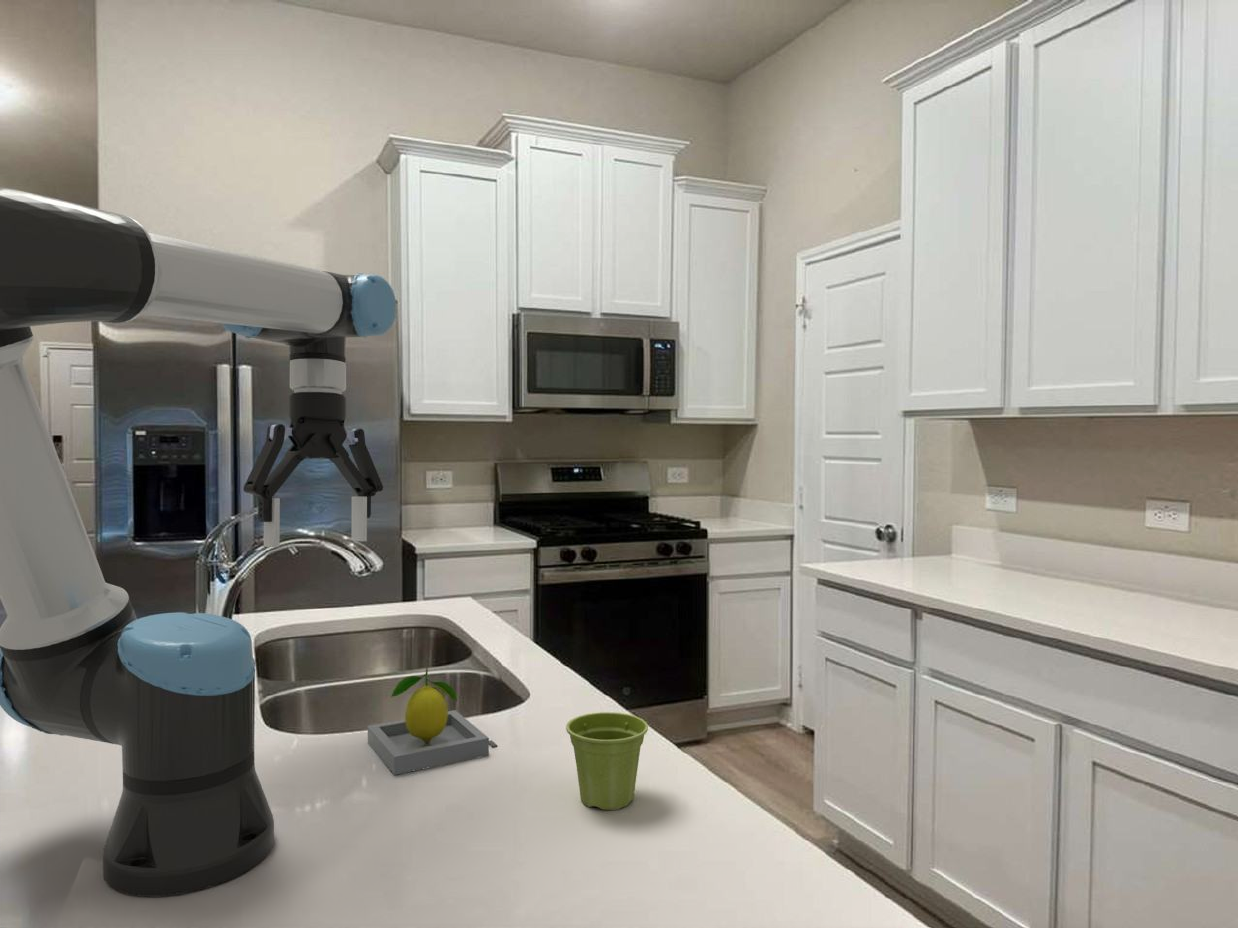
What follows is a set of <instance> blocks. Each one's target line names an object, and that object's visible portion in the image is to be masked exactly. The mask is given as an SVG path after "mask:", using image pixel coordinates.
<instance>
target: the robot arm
mask: <svg viewBox="0 0 1238 928" xmlns="http://www.w3.org/2000/svg"><path fill="white" fill-rule="evenodd" d="M389 283H390V282H388V280H386V279H385V278H384V277H382V276H380V275H379V274H375V273H374V274H372V273H371V274H363V273H360V272H359V273H356V274H352V275H351V274H349V275H348V274H340V273H336V272H330V271H324V270H320V269H317V268H311V267H306V266H302V265H297V264H293V263H289V262H283V261H280V260H276V259H271V258H266V257H262V256H256V255H252V254H248V253H245V252H238V251H235V250H229V249H226V248H219V247H216V246H211V245H206V244H203V243H197V242H194V241H193V242H192V241H188V240H183V239H180V238H175V237H170V236H166V235H161V234H156V233H152V232H148V231H147V230H146V228H145V227H144V226H143V225H142V224H141V223H140V222H138V221H137V220H136V219H134V218H133V217H130V216H127V215H124V214H120V213H115V212H110V211H106V210H101V209H99V208H95V207H92V206H87V205H83V204H78V203H74V202H70V201H66V200H63V199H58V198H54V197H52V196H45V195H42V194H36V193H34V192H33V193H32V192H29V191H25V190H24V191H23V190H20V189H14V188H7V187H0V601H1V603H2V606H3V608H4V610H5V613H6V617H5V619H4V622H3V623H2V625H1V626H0V707H1V709H3V711H4V712H5V714H7V716H9V717H10V718H12V719H13V720H15V721H16V722H17V723H19V724H21V725H24V726H27V727H29V728H31V729H34V730H37V731H39V732H42V733H44V734H48V735H58V736H65V737H73V738H79V739H83V740H90V741H95V742H101V743H106V744H110V745H117V746H121V757H122V758H121V759H122V760H121V762H122V793H121V795H120V799H119V802H118V804H117V807H116V811H115V814H114V815H113V816H114V817H113V819H112V823H111V825H110V829H109V830H108V831H109V832H108V834H107V837H106V841H105V844H104V847H103V851H102V878H103V881H104V882H105V883H106V885H107V886H108V887H109V888H111V889H113V890H114V891H117V892H119V893H122V894H126V895H131V896H138V897H139V896H140V897H141V896H142V897H162V896H163V897H164V896H165V897H166V896H173V895H178V894H179V895H181V894H185V893H190V892H195V891H199V890H203V889H206V888H210V887H213V886H216V885H219V884H222V883H225V882H227V881H229V880H232V879H233V878H236V877H238V876H240V875H242V874H244V873H246V872H247V871H249V870H251V869H253V868H254V867H256V866H257V865H258V864H260V863H261V861H263V860H264V859H265V858H267V856H268V855H269V853H270V852H271V851H272V849H273V847H274V843H275V822H274V819H275V818H274V814H273V812H272V809H271V806H270V805H269V802H268V800H267V797H266V794H265V792H264V789H263V787H262V784H261V782H260V779H259V776H258V773H257V772H256V766H255V724H256V723H255V713H256V712H255V703H256V699H255V698H256V696H255V695H256V694H255V691H256V689H255V688H256V685H255V684H256V683H255V682H256V677H255V674H256V661H255V658H254V655H253V641H252V640H253V639H252V637H251V634H250V632H249V631H248V629H247V628H246V627H245V626H244V625H243V624H241V623H239V622H238V621H236V620H235V619H231V618H230V617H229V618H228V617H225V616H222V615H217V614H212V613H206V612H205V613H204V612H196V613H187V612H177V611H176V612H167V613H166V612H165V613H159V614H157V613H156V614H152V615H147V616H144V617H140V618H137V615H136V613H135V610H134V607H133V604H132V602H131V599H130V596H129V593H128V592H127V591H126V590H125V589H124V588H122V587H121V586H117V585H114V584H111V583H107V582H106V581H105V578H104V575H103V572H102V570H101V567H100V564H99V561H98V560H97V557H96V554H95V551H94V548H93V546H92V543H91V540H90V537H89V536H88V533H87V530H86V527H85V524H84V521H83V518H82V517H81V513H80V511H79V509H78V508H79V507H78V506H77V503H76V501H75V498H74V495H73V492H72V490H71V488H70V487H71V486H70V484H69V481H68V479H67V476H66V474H65V471H64V468H63V466H62V463H61V461H60V458H59V456H58V452H57V449H56V448H55V445H54V442H53V440H52V436H51V435H50V432H49V428H48V426H47V423H46V420H45V419H44V418H45V417H44V415H43V413H42V410H41V408H40V405H39V402H38V399H37V397H36V394H35V391H34V389H33V386H32V383H31V381H30V377H29V375H28V373H27V371H26V367H25V365H24V361H23V360H24V359H23V358H24V355H25V354H26V352H27V351H28V349H29V348H30V346H31V344H32V343H33V341H34V340H35V337H34V334H33V331H32V329H31V327H36V326H45V325H54V324H55V325H56V324H63V323H64V324H65V323H80V322H81V323H82V322H84V323H85V322H100V323H101V322H102V323H112V324H125V323H129V322H131V321H133V320H135V319H137V318H138V317H140V316H148V317H149V316H150V317H151V316H152V317H159V318H160V317H161V318H168V319H169V318H171V319H178V320H186V321H187V320H188V321H189V320H190V321H196V322H197V321H198V322H208V323H219V324H221V326H222V327H223V328H224V329H226V330H227V331H228V332H231V333H233V334H237V335H240V336H242V337H245V338H246V339H252V338H253V339H256V340H257V339H258V340H262V341H267V342H273V343H278V344H282V345H285V346H289V355H288V356H289V389H291V390H292V391H293V392H292V393H291V394H290V395H289V396H288V397H289V398H288V399H289V401H288V402H289V403H288V408H289V409H288V411H289V414H288V416H289V421H290V424H289V426H285V425H284V424H282V423H280V424H271V425H270V424H269V426H267V431H266V439H265V442H264V445H263V446H262V448H261V450H260V452H259V455H258V457H257V458H256V461H255V463H254V465H253V466H252V469H251V470H250V473H249V475H248V477H247V479H246V481H245V483H244V485H243V488H242V489H243V491H244V493H246V494H251V495H253V497H255V498H257V518H258V522H260V523H263V548H265V547H266V548H267V547H268V548H280V545H281V544H280V535H281V534H280V533H281V531H280V529H281V528H280V526H281V525H280V524H281V523H280V522H281V521H280V520H281V519H280V518H281V517H280V516H281V515H280V514H281V512H280V511H281V504H280V502H281V501H280V500H281V498H280V497H274V496H275V495H276V494H277V492H278V491H279V490H280V489H281V487H282V486H283V485H284V484H285V482H286V481H287V480H288V478H289V477H290V476H291V474H292V473H293V472H294V471H295V470H296V468H297V467H298V466H299V465H300V463H301V462H302V461H304V460H306V459H307V460H309V459H313V460H314V459H317V460H329V461H330V462H332V463H333V464H334V465H335V467H336V468H337V469H338V471H339V472H340V474H342V476H343V478H345V480H346V481H347V483H348V484H349V486H350V487H351V488H352V489H353V491H354V492H355V493H356V495H357V496H351V538H350V539H351V542H352V541H353V542H368V519H369V518H370V517H371V514H372V497H374V496H375V495H376V493H378V492H382V491H383V489H384V486H383V483H382V481H381V477H380V475H379V474H378V470H377V469H376V467H375V463H374V462H373V459H372V456H371V454H370V452H369V450H368V446H367V444H366V437H365V431H364V429H362V428H354V429H353V428H352V429H348V430H346V428H345V421H346V418H347V397H345V394H342V393H343V392H345V391H346V390H347V365H346V364H347V363H346V361H347V360H346V359H347V357H346V345H347V342H346V341H347V340H346V338H361V337H362V338H367V337H372V336H373V337H374V336H375V337H376V336H381V335H384V334H386V333H387V332H389V331H390V330H391V328H392V327H393V326H394V323H395V321H396V316H397V309H396V307H397V304H396V303H397V301H396V300H397V299H396V296H395V293H394V290H393V288H392V286H391V284H389ZM288 439H289V441H290V442H291V444H292V445H291V446H290V447H289V449H287V450H286V452H285V453H284V456H283V458H282V459H281V461H280V462H279V463H278V464H277V466H275V468H274V469H273V470H272V468H273V466H274V465H275V462H276V460H277V458H278V456H279V454H280V452H281V450H282V447H283V445H284V442H286V440H288ZM344 442H345V443H347V444H348V447H349V450H350V453H351V455H352V457H353V459H354V462H355V463H354V462H353V461H352V459H351V458H350V454H349V452H348V450H347V449H346V448H345V447H344ZM355 464H356V465H355Z"/></svg>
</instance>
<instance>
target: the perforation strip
mask: <svg viewBox="0 0 1238 928" xmlns="http://www.w3.org/2000/svg"><path fill="white" fill-rule="evenodd" d="M482 733H483V734H485V733H484V732H482ZM489 744H490V745H491V746H492V747H491V746H490V745H489V746H490V747H491V748H497V747H498V743H497V744H496V742H494V741H493V740H489Z"/></svg>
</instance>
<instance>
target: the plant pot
mask: <svg viewBox="0 0 1238 928" xmlns="http://www.w3.org/2000/svg"><path fill="white" fill-rule="evenodd" d="M648 729H649V725H648V722H647V721H645V719H642V718H641V717H638V716H636V715H633V714H629V713H622V712H615V711H613V712H610V711H609V712H608V711H606V712H605V711H604V712H603V711H602V712H601V711H600V712H592V713H585V714H582V715H581V714H580V715H579V716H576V717H574V718H572V719H570V720H569V721H568V722H567V723H566V725H565V730H566V732H567V734H568V735H569V737H570V743H571V745H572V747H573V752H574V757H575V758H574V759H575V765H576V773H577V779H578V788H579V795H580V801H581V803H583V804H584V805H585V806H587V807H589V808H590V807H591V808H592V807H597V808H599V809H600V810H605V811H611V810H618V809H622V808H625V807H627V806H629V804H630V803H631V801H633V800H634V796H635V790H636V784H637V783H636V782H637V775H638V770H639V769H638V768H639V761H640V754H641V753H640V752H641V747H642V744H643V743H644V738H645V735H646V734H647V732H648Z"/></svg>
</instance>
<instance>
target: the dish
mask: <svg viewBox="0 0 1238 928" xmlns="http://www.w3.org/2000/svg"><path fill="white" fill-rule="evenodd" d="M483 733H484V732H483V731H481V730H480V729H479V728H477V726H475V725H474V724H472V722H470V721H469V720H468V719H467V718H465V716H463V715H462V714H461V713H459V712H458V711H457V710H455V709H454V710H448V717H447V723H446V726H445V728H444V730H443V731H442V732H441V733H440V734H439V735H438V736H436V737H434V738H432V739H431V741H430V742H429V743H425V742H424V741H423V740H422V739H420V738H416V737H414V736H412V735H411V734H410V732H409V731H408V729H407V727H406V722H405V718H403V719H398V720H392V721H388V722H386V721H385V722H382V723H376V724H370V725H369V724H368V725H367V744H368V745H369V744H370V745H371V746H372V747H371V746H370V745H369V746H370V747H371V749H372V750H373V749H374V750H375V751H376V752H375V751H374V750H373V751H374V752H375V754H376V755H377V754H378V755H379V756H380V757H379V756H378V755H377V756H378V757H379V759H380V760H381V759H382V760H381V761H382V763H384V765H385V764H386V765H387V766H386V765H385V766H386V767H387V768H388V767H389V768H390V769H389V768H388V769H389V771H390V770H391V771H392V772H391V771H390V772H391V773H392V775H394V776H397V775H396V774H399V775H402V774H401V773H403V774H406V773H405V772H408V773H412V772H411V771H413V770H417V771H420V770H419V769H422V770H424V769H423V768H427V767H432V768H436V767H439V766H440V765H441V766H444V764H446V765H449V763H450V764H455V763H460V762H463V761H469V760H473V759H477V758H482V757H487V755H488V756H489V755H490V751H489V750H490V745H489V741H490V738H489V737H488V736H487V735H486V734H485V733H484V734H483ZM454 762H455V763H454ZM427 769H428V768H427ZM413 772H414V771H413Z"/></svg>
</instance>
